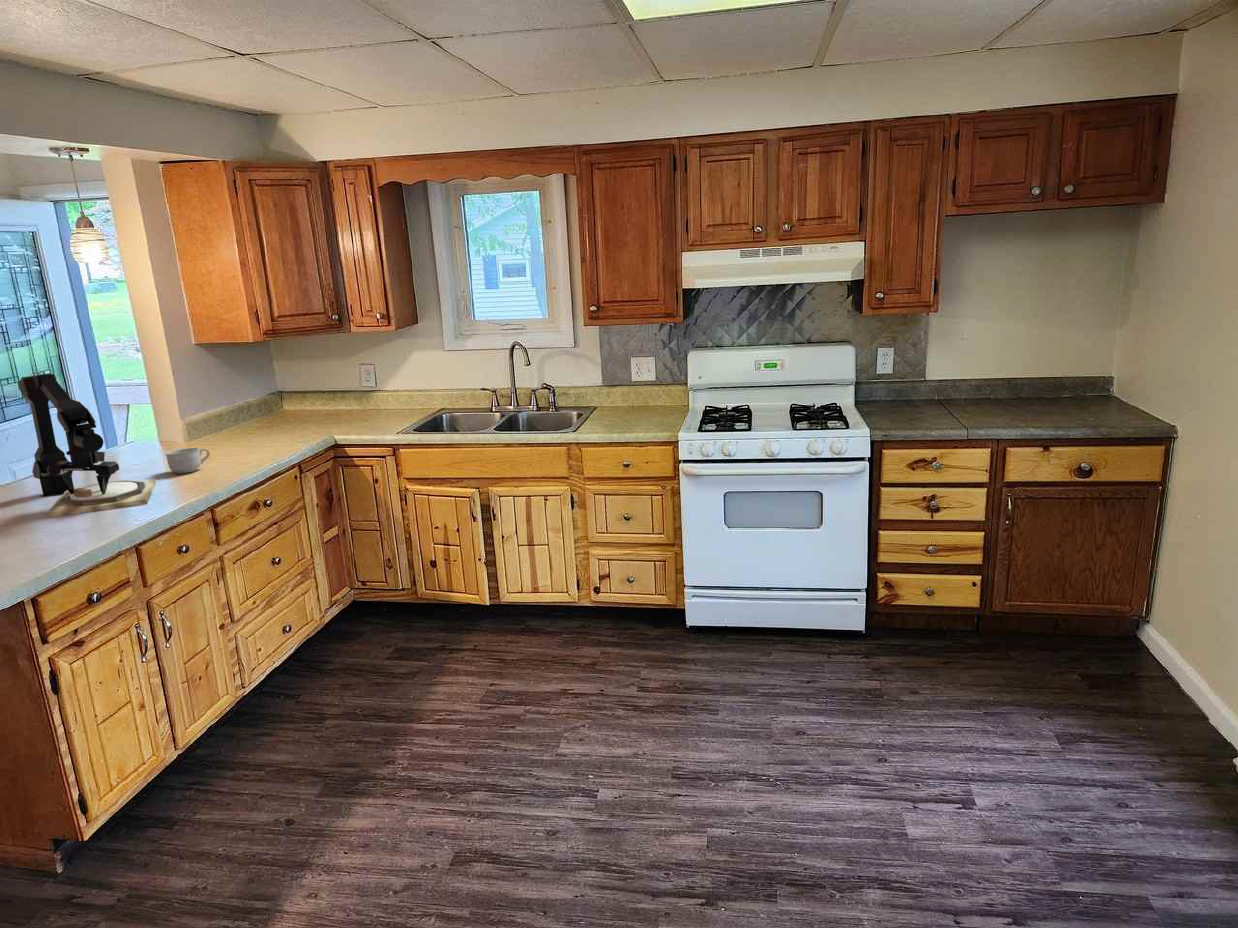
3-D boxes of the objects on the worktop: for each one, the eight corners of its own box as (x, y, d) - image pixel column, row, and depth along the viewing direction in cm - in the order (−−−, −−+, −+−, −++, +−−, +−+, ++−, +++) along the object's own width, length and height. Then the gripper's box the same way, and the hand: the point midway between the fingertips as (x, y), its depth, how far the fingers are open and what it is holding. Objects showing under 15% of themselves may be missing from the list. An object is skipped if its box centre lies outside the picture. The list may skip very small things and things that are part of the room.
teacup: (167, 477, 282) (163, 455, 280) (170, 470, 292) (166, 449, 290) (211, 471, 287) (207, 450, 285) (213, 465, 297) (209, 444, 295)
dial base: (49, 517, 241) (46, 507, 240) (66, 495, 264) (64, 486, 263) (147, 503, 251) (145, 494, 250) (156, 483, 274) (154, 475, 273)
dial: (115, 484, 269) (113, 473, 268) (150, 489, 261) (148, 478, 260) (57, 500, 253) (55, 489, 252) (93, 506, 245) (90, 495, 244)
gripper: (124, 439, 255) (132, 486, 260) (65, 439, 254) (74, 485, 259) (104, 449, 244) (113, 497, 249) (41, 448, 244) (51, 497, 248)
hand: (88, 493), depth 252 cm, fingers open, 9 cm apart
